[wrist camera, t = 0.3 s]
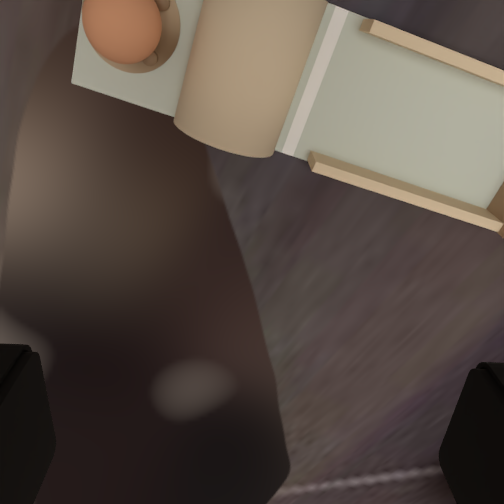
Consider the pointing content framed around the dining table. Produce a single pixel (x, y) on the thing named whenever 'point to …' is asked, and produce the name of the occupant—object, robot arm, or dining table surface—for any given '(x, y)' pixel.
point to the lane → (329, 99)
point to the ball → (122, 28)
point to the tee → (165, 45)
